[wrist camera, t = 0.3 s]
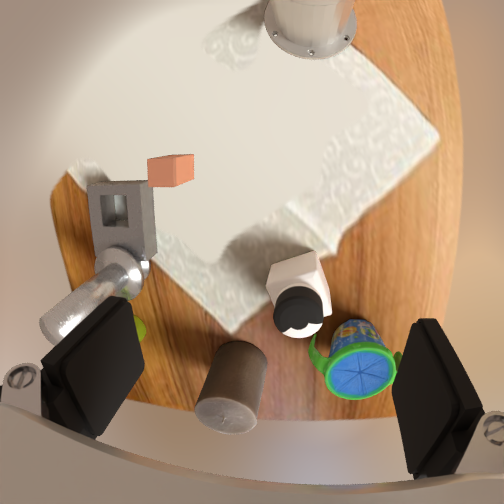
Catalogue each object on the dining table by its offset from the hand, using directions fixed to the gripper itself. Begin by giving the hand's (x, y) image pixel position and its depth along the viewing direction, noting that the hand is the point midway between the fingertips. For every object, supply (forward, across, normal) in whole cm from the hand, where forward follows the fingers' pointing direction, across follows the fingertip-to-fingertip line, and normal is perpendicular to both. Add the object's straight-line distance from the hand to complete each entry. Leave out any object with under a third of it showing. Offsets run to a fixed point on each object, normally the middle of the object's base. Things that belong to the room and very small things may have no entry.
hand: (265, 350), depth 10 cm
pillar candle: (+36, +8, +32) cm, 48 cm away
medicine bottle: (+36, -1, +14) cm, 38 cm away
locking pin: (+35, +16, -3) cm, 39 cm away
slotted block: (+35, +27, +8) cm, 45 cm away
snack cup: (+36, -11, +24) cm, 44 cm away
